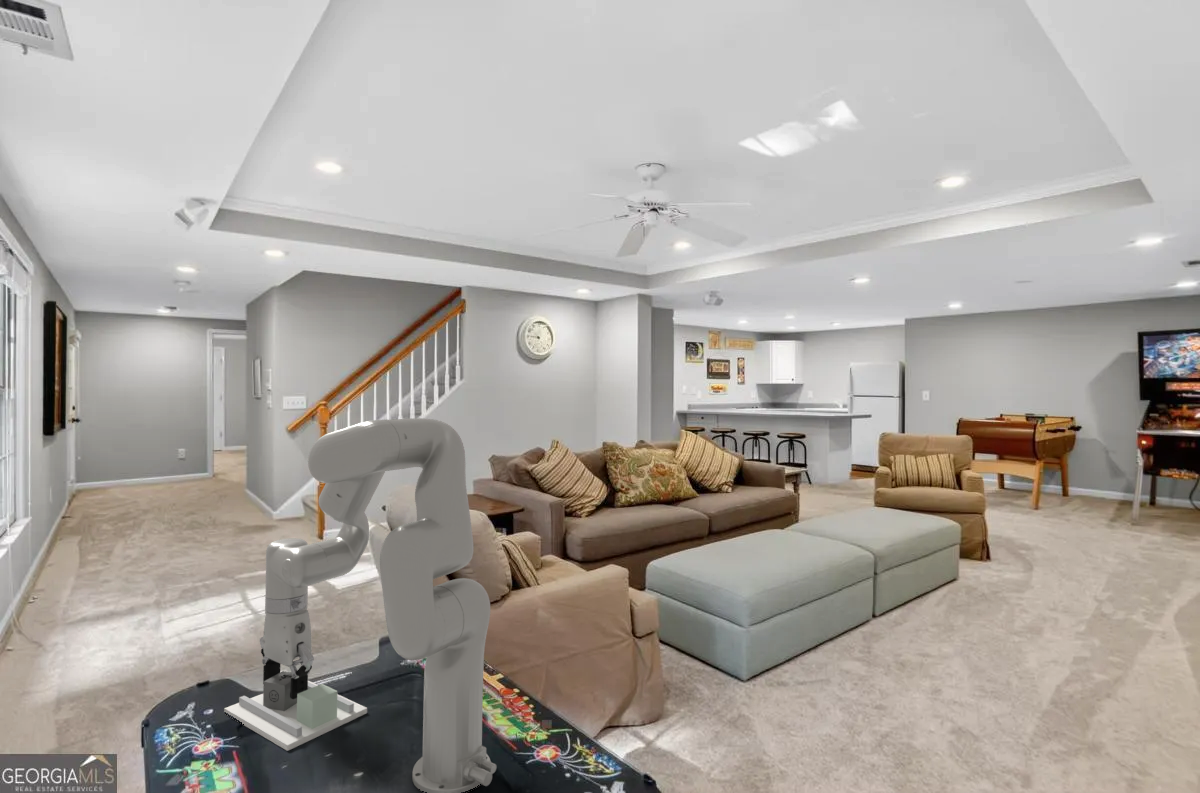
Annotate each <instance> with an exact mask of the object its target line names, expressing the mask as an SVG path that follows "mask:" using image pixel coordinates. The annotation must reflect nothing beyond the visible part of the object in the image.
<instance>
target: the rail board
mask: <svg viewBox="0 0 1200 793" xmlns="http://www.w3.org/2000/svg"><path fill="white" fill-rule="evenodd" d="M238 701H239V702H237V703H235V704H232V705H229V706H228V707H224V709H223V710H224V711H223V713H224V712H226V713H228V714H229V715H231V716H233V717H234V718H236V719H237V720H239V721H240V722H242V725H243V724H244V725H243V726H244V727H246V728H247V729H250V730H251V731H253V732H255V733H256V734H258V735H260V736H261V737H263V738H265V739H266V740H268V741H270V742H272V743H273V744H275V745H276V746H278V747H280V748H281V749H283V750H285V751H287V752H288V751H290V750H292V749H295V748H297V747H298V746H301V745H303V744H305V743H308V742H309V741H311V740H314V739H315V738H317V737H320V736H321V735H324V734H326V733H329V732H330V731H332V730H334V729H337V728H339V727H340V726H343V725H345V724H348V723H349V722H351V721H353V720H356V719H358V718H360V717H362V716H364V715H366V714H367V713H368V707H366V706H365V705H362V704H360V703H357V702H355V701H354V700H351V699H348V698H347V697H345V696H342V695H341V694H338V690H336V689H334V688H332V687H330V686H327V685H325V684H323V683H321V684H316V683H314V682H312V681H310V680H308V690H306V691H303V692H301V693H298V694H297V704H295V705H293V706H292V707H290V708H289V709H287V710H286V711H280V710H275V709H269V708H267V707H265V706H263V693H261V694H258V695H255V696H253V697H250V698H249V697H248V696H246V695H242V696H239V697H238Z"/></svg>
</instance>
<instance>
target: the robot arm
mask: <svg viewBox="0 0 1200 793" xmlns="http://www.w3.org/2000/svg"><path fill="white" fill-rule="evenodd" d="M307 458H308V460H307V463H308V464H307V465H308V469H309V472H310V474H311V476H312V477H313V478H314V479H315V480H316V481H318V482H319V483H323V484H324V486H323V488H322V489H321V492H320V494H319V497H318V506H319V508H320V510H321V511H322V512H323V513H324V514H325V515H326V516H327V517H328V518H331V519H332V520H334V521H337V522H339V523H342V526H341V528H340V530H339V532H338V533H337V535H336V537H335V538H332V539H327V540H322V541H318V542H314V543H311V544H308V542H307V540H305V539H302V538H282V539H281V538H280V539H277V540H274V541H271V542H270V543H269V544H268V545H267V547H266V550H265V596H264V597H265V598H264V602H265V603H264V604H265V606H264V613H265V615H264V616H265V617H264V624H263V626H264V627H263V636H262V637H260V638H259V643H260V648H261V650H260V653H261V655H262V661H261V663H262V664H263V670H262V672H263V675H262V676H263V677H262V678H263V679H262V685H264V681H266V680H267V679H269V678H271V677H273V676H275V675H277V674H278V673H280V672H281V665H283V666H285V667H288V668H289V670H290V672H291V673H292V675H293V678H291V693H290V698H291V699H296V698H297V694H298V693H301V692H303V691H306V690H308V681H309V674H310V672H311V669H312V668H313V663H314V660H315V656H314V655H313V654H312V651H313V649H312V647H313V645H312V644H313V642H312V641H313V640H312V627H311V619H310V613H309V610H308V605H309V604H308V597H309V596H308V594H309V592H308V591H309V588H308V587H309V586H313V585H316V584H319V583H321V582H325V581H329V580H331V579H335V578H339V577H342V576H345V575H348V574H349V573H350V572H352V571H353V569H354V568H355V567H356V566H357V564H358V563H359V561H360V560H361V557H362V555H363V554H364V552H365V550H366V548H367V545H368V544H369V540H370V539H369V538H370V524H369V520H368V517H367V514H366V513H365V512H366V510H367V508H368V507H369V504H370V503H371V500H372V498H373V496H374V494H375V492H376V490H377V488H378V486H379V484H380V483H381V480H382V479H383V477H384V475H385V473H386V472H388V471H389V472H390V471H396V470H405V469H412V468H421V469H422V470H421V472H420V474H419V476H418V477H417V478H418V479H417V482H416V486H415V492H414V502H415V506H416V508H415V509H416V521H412V522H407V523H404V524H401V525H399V526H397V527H395V528H394V529H391V531H390V532H389V533H388V534H387V535H386V538H385V539H384V540H383V543H382V545H381V550H380V554H379V570H380V579H381V581H380V582H381V589H382V598H383V604H384V605H383V606H384V614H385V623H386V629H387V635H388V638H389V641H390V644H391V646H392V648H393V649H394V651H395V652H396V654H398V656H400V657H401V658H403V659H405V660H408V661H420V660H423V659H425V664H424V675H423V678H424V679H423V710H422V712H423V715H422V718H423V720H422V725H423V726H422V756H421V757H420V758H419V759H418V760H417V761H416V763H415V764H414V765H413V768H412V782H413V785H414V786H415V788H417V789H418V790H419V789H420V790H419V791H420V792H422V791H424V792H423V793H425V792H427V793H461V792H465V791H468V790H470V789H473V788H475V787H476V788H478V787H479V786H485V787H488V786H489V785H490V784H491V782H492V780H493V774H495V772H496V771H497V764H496V763H494V762H492V761H491V758H490V756H489V755H488V753H487V747H486V746H485V745H483V703H484V702H483V701H484V700H483V695H484V693H483V692H484V691H483V690H484V688H483V687H484V665H485V664H484V662H485V661H484V660H485V648H486V641H487V634H488V629H489V624H490V618H491V601H490V597H489V594H488V592H487V589H485V587H484V586H483V585H482V584H481V583H479V582H478V581H476V580H474V579H472V578H463V577H461V578H455V579H452V580H448V581H445V582H443V583H440V584H437V585H434V582H433V580H435V579H438V578H441V577H444V576H447V575H449V574H452V573H455V572H457V571H459V570H461V569H463V568H465V567H466V566H468V564H469V563H470V562H471V560H473V559H472V558H473V555H474V538H473V537H474V536H473V528H472V522H471V521H472V520H471V512H470V505H469V499H468V497H469V496H468V492H467V485H466V484H467V482H466V452H465V447H464V443H463V441H462V439H461V436H460V434H459V433H458V432H457V431H456V429H455V428H453V426H451V425H449V424H448V423H446V422H444V421H441V420H438V419H434V418H424V417H423V418H417V417H416V418H415V417H414V418H398V419H396V418H395V419H393V418H391V419H374V420H366V421H363V422H359V423H355V424H352V425H350V426H347V427H344V428H341V429H338V430H334V431H332V432H329V433H325V434H324V435H323V436H321V437H319V438H318V439H317V440H316V441H315V442H314V443H313V445H312V446H311V448H310V451H309V454H308V457H307ZM296 659H297V660H296ZM293 660H294V661H293ZM298 665H300V666H299V667H298V669H297V666H298ZM480 784H481V785H480ZM478 785H479V786H478ZM477 786H478V787H477ZM476 788H475V789H476ZM473 790H474V789H473ZM468 792H469V791H468Z"/></svg>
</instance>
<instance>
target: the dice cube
mask: <svg viewBox="0 0 1200 793" xmlns="http://www.w3.org/2000/svg"><path fill="white" fill-rule="evenodd" d="M291 678H293V675H292V673H291V671H286V670H282V671H280V673H278V674H277V675H275V676H273V677H271V678H269V679H267V680H266V681H264V684H263V693H262V694H263V706H265V707H267V708H269V709H275V710H280V711H286V710H287V709H289V708H290V707H292V706H293V705H295V704H297V698H296V699H291V698H290V693H291Z"/></svg>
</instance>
